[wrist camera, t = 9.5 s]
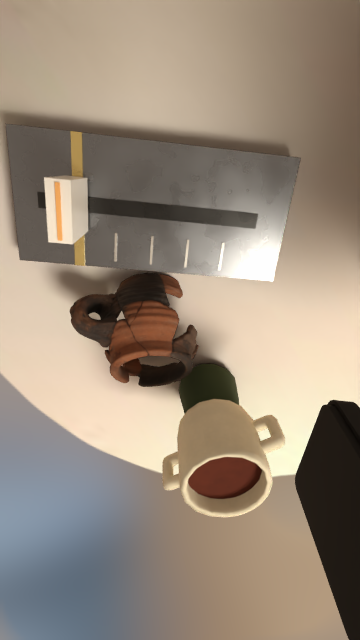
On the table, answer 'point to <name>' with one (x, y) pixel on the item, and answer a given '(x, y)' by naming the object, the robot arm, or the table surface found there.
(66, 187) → the fader tab
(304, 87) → the table surface
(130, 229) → the console
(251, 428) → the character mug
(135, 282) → the pottery mug
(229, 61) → the table surface
